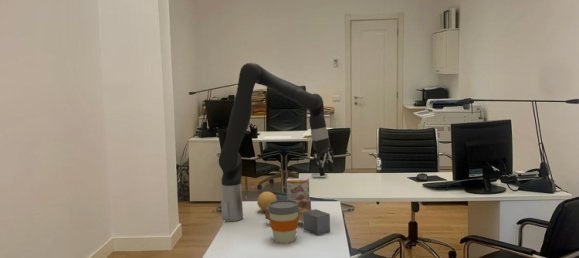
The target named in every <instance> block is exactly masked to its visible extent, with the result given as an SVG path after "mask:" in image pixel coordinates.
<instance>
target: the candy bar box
mask: <svg viewBox="0 0 579 258" xmlns="http://www.w3.org/2000/svg"><path fill="white" fill-rule="evenodd" d="M285 186H286V188H285V190H286V200H292V201H293V200H297V199H298V200H302V199H307V200H310V178H309V177H308V178H286V180H285Z"/></svg>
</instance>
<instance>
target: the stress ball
mask: <svg viewBox="0 0 579 258" xmlns="http://www.w3.org/2000/svg"><path fill="white" fill-rule="evenodd" d="M274 201H278V199H277V196H276V195H275V194H274V193H273V192H271V191H263V192H262V193H260V194H259V195H258V197H257V202H256V203H257V206H258V207H259V209H260V210H261V211H263V212H265V208H267V207H269V204H270V203H271V202H274Z"/></svg>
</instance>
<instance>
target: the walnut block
mask: <svg viewBox="0 0 579 258" xmlns="http://www.w3.org/2000/svg"><path fill="white" fill-rule="evenodd" d="M293 201H296V202H297V203H298V207H301V208H304V209H307V210H310V211H311V210H312V201H311V200H307V199H302V200H298V199H297V200H293ZM268 209H269V207H267V208H265V211H264V213H265V214H264V216H265V217H264V218H265V220H267V221H270V219H269V218H270V213H269V212H268Z"/></svg>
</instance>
